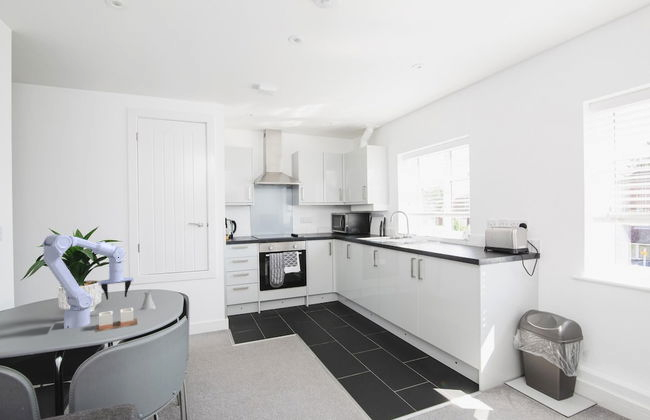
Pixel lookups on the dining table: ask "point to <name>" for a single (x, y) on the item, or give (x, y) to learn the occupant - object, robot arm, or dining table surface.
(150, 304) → the flask
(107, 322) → the seated sleeve
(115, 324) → the pin board
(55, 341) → the dining table surface
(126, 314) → the sleeve
